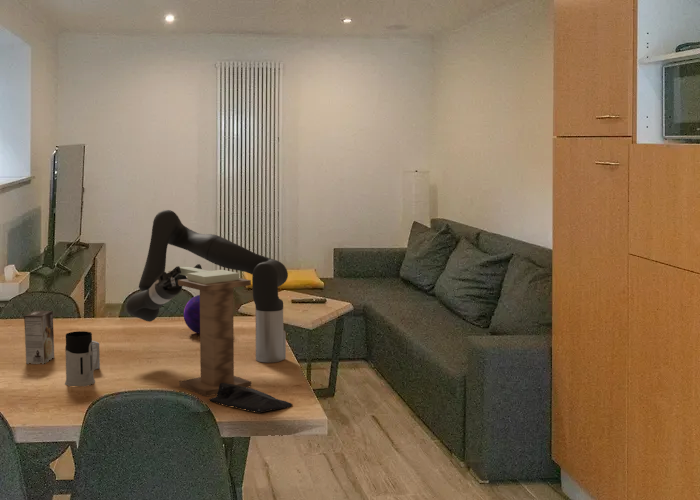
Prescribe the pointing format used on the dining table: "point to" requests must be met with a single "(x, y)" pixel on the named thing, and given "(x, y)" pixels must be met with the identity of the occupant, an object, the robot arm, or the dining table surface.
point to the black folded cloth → (247, 398)
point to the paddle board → (208, 275)
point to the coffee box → (39, 337)
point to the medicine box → (95, 355)
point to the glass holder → (80, 359)
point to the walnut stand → (215, 337)
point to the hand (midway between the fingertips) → (189, 268)
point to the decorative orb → (193, 314)
